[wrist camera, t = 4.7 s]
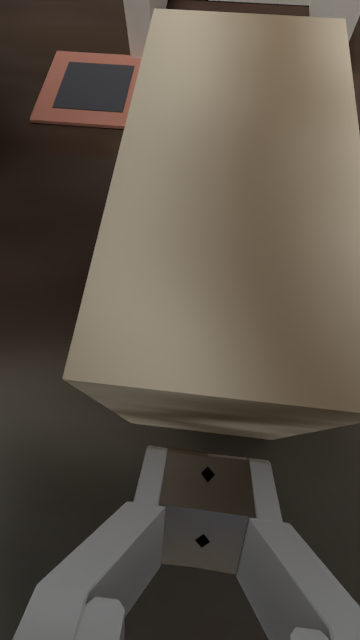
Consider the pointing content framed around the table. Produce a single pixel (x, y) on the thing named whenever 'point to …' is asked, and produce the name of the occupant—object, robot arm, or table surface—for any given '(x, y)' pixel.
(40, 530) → the table surface
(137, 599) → the robot arm
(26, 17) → the table surface
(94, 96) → the plate
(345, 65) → the maple block
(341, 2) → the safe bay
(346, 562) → the table surface
